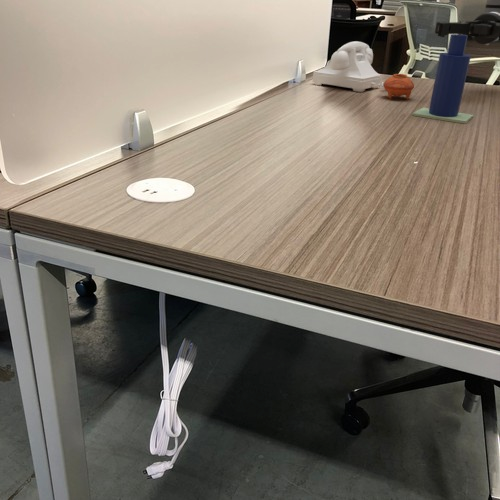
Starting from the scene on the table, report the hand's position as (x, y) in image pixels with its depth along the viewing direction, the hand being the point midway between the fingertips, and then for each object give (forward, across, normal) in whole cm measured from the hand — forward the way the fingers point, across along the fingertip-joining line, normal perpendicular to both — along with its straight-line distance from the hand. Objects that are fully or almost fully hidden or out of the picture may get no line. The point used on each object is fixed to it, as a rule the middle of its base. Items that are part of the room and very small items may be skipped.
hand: (470, 31), depth 117 cm
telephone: (-14, +32, -18) cm, 39 cm away
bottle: (+10, 0, -17) cm, 20 cm away
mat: (+10, 0, -18) cm, 20 cm away
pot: (-4, +16, -18) cm, 24 cm away
